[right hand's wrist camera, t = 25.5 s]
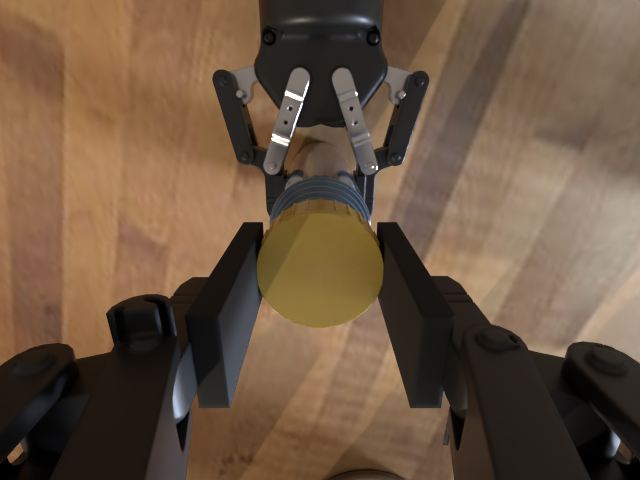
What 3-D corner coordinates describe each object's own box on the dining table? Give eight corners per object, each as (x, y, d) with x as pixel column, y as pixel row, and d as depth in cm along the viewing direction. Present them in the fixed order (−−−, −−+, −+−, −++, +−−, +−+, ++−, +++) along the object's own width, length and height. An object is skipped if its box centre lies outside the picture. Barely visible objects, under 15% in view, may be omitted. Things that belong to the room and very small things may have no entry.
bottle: (324, 130, 30) (331, 171, 12) (358, 175, 32) (411, 273, 13) (281, 166, 31) (226, 254, 13) (315, 208, 33) (310, 340, 15)
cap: (244, 218, 14) (233, 235, 12) (360, 181, 13) (366, 193, 11) (285, 315, 15) (281, 342, 14) (390, 286, 15) (399, 310, 13)
